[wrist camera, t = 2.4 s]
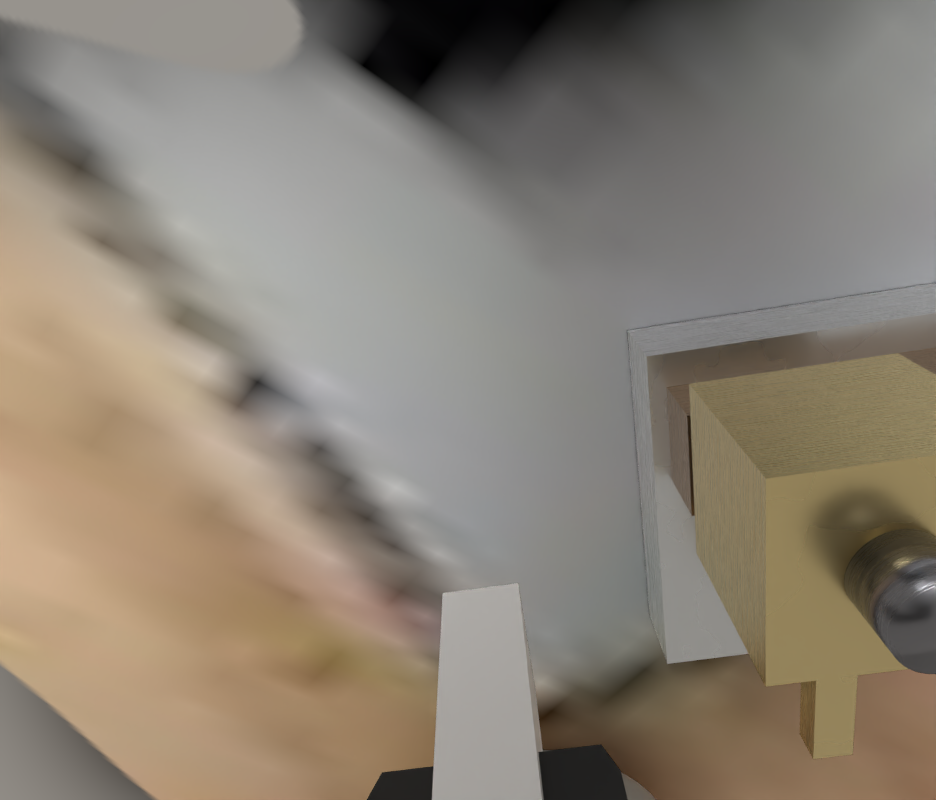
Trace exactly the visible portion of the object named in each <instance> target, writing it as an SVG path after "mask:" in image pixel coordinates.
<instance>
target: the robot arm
mask: <svg viewBox="0 0 936 800" xmlns="http://www.w3.org/2000/svg"><path fill="white" fill-rule="evenodd" d="M367 800H628V799H627V795H626V791H625V786H624V782H623V778H622V774H621V771H620V769H619V768H618V767H617V765H616V764H615V763H614V761H613V760H612V759H611V757H610V756H609V754H608V753H607V752H606V750H605V749H604V748H603V746H602V745H593V746H585V747H576V748H568V749H559V750H551V751H543V749H542V740H541V732H540V724H539V715H538V707H537V698H536V690H535V684H534V678H533V671H532V665H531V659H530V653H529V647H528V640H527V634H526V628H525V622H524V616H523V609H522V603H521V597H520V591H519V585H518V583H515V584H507V585H500V586H492V587H485V588H477V589H470V590H462V591H455V592H447V593H443V599H442V618H441V637H440V656H439V675H438V693H437V712H436V731H435V750H434V766H433V767H425V768H416V769H408V770H400V771H391V772H383V773H382V774H381V775H380V777H379V779H378V781H377V783H376V784H375V786H374V788H373V790H372V792H371V793H370V795H369V797H368V799H367Z"/></svg>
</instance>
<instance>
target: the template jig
mask: <svg viewBox="0 0 936 800" xmlns="http://www.w3.org/2000/svg"><path fill="white" fill-rule="evenodd" d="M627 333H628V346H629V359H630V372H631V385H632V398H633V411H634V423H635V436H636V449H637V462H638V475H639V488H640V501H641V514H642V527H643V540H644V553H645V566H646V579H647V592H648V605H649V615H650V618H651V621H652V623H653V626H654V629H655V632H656V634H657V637H658V640H659V643H660V645H661V648H662V651H663V654H664V656H665V659H666V662H667V664H670V663H678V662H686V661H694V660H702V659H710V658H718V657H726V656H734V655H742V654H748V652H747V650H746V648H745V646H744V644H743V642H742V640H741V638H740V636H739V634H738V632H737V630H736V629H735V627H734V625H733V623H732V621H731V619H730V617H729V615H728V613H727V611H726V609H725V607H724V605H723V603H722V601H721V600H720V598H719V596H718V594H717V592H716V590H715V588H714V586H713V584H712V582H711V580H710V578H709V576H708V574H707V573H706V571H705V569H704V567H703V565H702V563H701V561H700V559H699V557H698V555H697V553H696V532H695V509H694V487H693V464H692V441H691V418H690V395H689V384H692V383H698V382H705V381H712V380H719V379H725V378H732V377H739V376H746V375H752V374H759V373H766V372H773V371H779V370H786V369H793V368H800V367H806V366H813V365H820V364H827V363H833V362H840V361H847V360H854V359H860V358H867V357H874V356H881V355H887V354H894V353H898V354H900V355H902V356H904V357H905V358H907V359H909V360H911V361H912V362H914V363H916V364H918V365H919V366H921V367H923V368H925V369H927V370H928V371H930V372H932V373H934V374H935V375H936V283H932V284H926V285H919V286H913V287H906V288H900V289H893V290H887V291H880V292H873V293H867V294H860V295H854V296H847V297H841V298H834V299H828V300H821V301H815V302H808V303H802V304H795V305H789V306H782V307H776V308H769V309H763V310H756V311H749V312H743V313H736V314H730V315H723V316H717V317H710V318H704V319H697V320H691V321H684V322H678V323H671V324H665V325H658V326H652V327H645V328H639V329H632V330H627Z"/></svg>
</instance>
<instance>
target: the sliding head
mask: <svg viewBox="0 0 936 800" xmlns="http://www.w3.org/2000/svg"><path fill="white" fill-rule="evenodd" d="M689 395H690V418H691V441H692V464H693V487H694V509H695V532H696V553H697V555H698V557H699V559H700V561H701V563H702V565H703V567H704V569H705V571H706V573H707V574H708V576H709V578H710V580H711V582H712V584H713V586H714V588H715V590H716V592H717V594H718V596H719V598H720V600H721V601H722V603H723V605H724V607H725V609H726V611H727V613H728V615H729V617H730V619H731V621H732V623H733V625H734V627H735V629H736V630H737V632H738V634H739V636H740V638H741V640H742V642H743V644H744V646H745V648H746V650H747V652H748V654H749V656H750V657H751V659H752V661H753V663H754V665H755V667H756V669H757V671H758V673H759V675H760V677H761V679H762V681H763V683H764V684H765V686H766V687H768V686H776V685H784V684H792V683H800V682H801V707H800V735H801V737H802V739H803V741H804V743H805V745H806V746H807V748H808V750H809V752H810V754H811V756H812V758H813V759H819V758H828V757H836V756H845V755H853V741H854V725H855V710H856V695H857V679H858V675H866V674H874V673H882V672H890V671H898V670H907V669H911V670H913V671H916V672H920V673H926V674H936V375H935V374H934V373H932V372H930V371H928V370H927V369H925V368H923V367H921V366H919V365H918V364H916V363H914V362H912V361H911V360H909V359H907V358H905V357H904V356H902V355H900V354H898V353H894V354H887V355H881V356H874V357H867V358H860V359H854V360H847V361H840V362H833V363H827V364H820V365H813V366H806V367H800V368H793V369H786V370H779V371H773V372H766V373H759V374H752V375H746V376H739V377H732V378H725V379H719V380H712V381H705V382H698V383H692V384H689Z"/></svg>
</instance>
